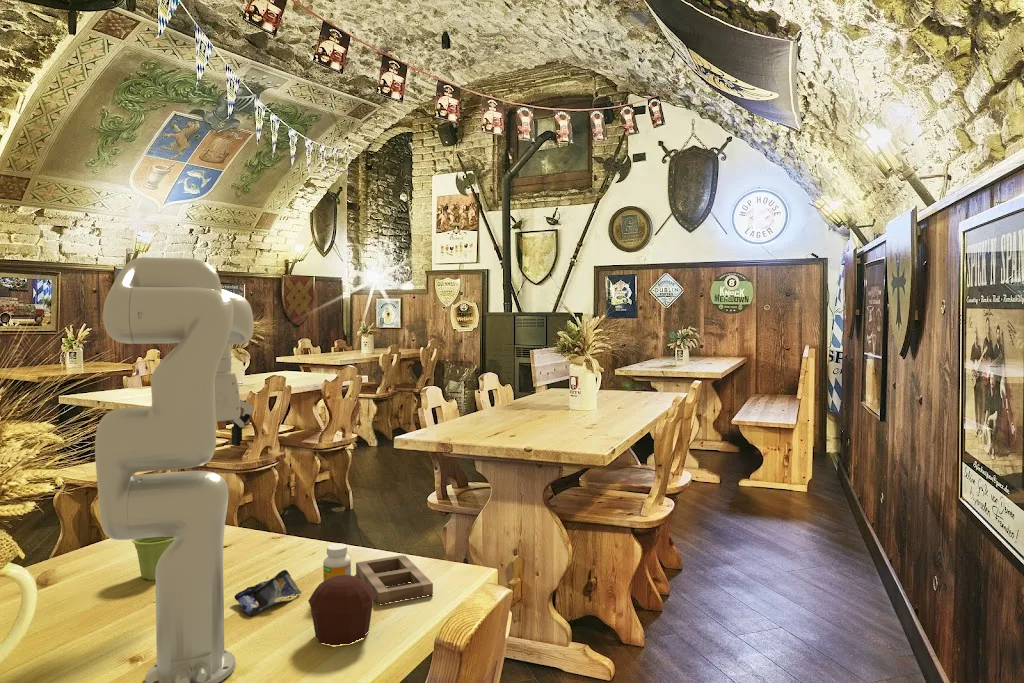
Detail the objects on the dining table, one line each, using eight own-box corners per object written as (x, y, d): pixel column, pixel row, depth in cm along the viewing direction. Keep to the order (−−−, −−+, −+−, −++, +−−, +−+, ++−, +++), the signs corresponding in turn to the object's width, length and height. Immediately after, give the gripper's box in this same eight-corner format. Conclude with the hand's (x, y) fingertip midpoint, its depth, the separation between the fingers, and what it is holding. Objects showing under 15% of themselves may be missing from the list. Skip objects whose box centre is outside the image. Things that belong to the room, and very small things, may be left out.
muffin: (295, 636, 119) (295, 579, 118) (348, 615, 127) (348, 562, 127) (335, 657, 111) (335, 597, 111) (389, 634, 119) (388, 578, 119)
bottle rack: (432, 595, 136) (432, 583, 136) (378, 605, 131) (378, 593, 131) (404, 565, 153) (404, 554, 153) (356, 573, 149) (355, 562, 148)
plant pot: (181, 579, 146) (180, 539, 146) (131, 586, 142) (130, 545, 142) (181, 565, 154) (181, 527, 154) (134, 572, 150) (133, 533, 150)
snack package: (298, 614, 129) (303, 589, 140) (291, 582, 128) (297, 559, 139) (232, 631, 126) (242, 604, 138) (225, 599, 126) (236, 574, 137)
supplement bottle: (318, 598, 135) (318, 549, 135) (331, 588, 141) (331, 541, 140) (343, 600, 134) (342, 551, 134) (355, 590, 139) (355, 543, 139)
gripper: (174, 370, 135) (175, 456, 135) (259, 366, 147) (260, 445, 147) (162, 368, 140) (163, 451, 141) (245, 365, 152) (246, 441, 153)
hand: (213, 448), depth 144 cm, fingers open, 9 cm apart
